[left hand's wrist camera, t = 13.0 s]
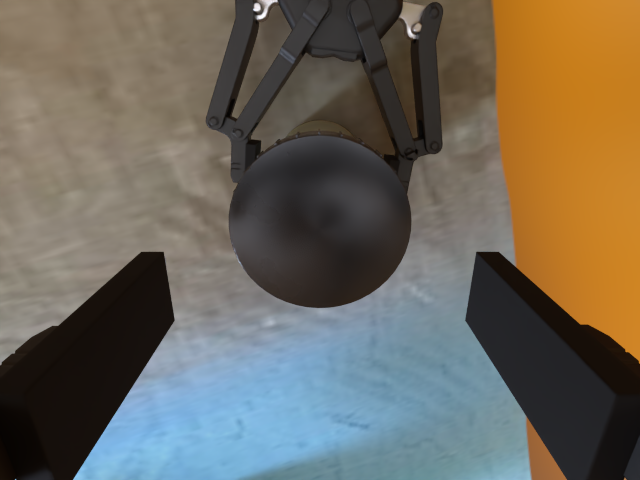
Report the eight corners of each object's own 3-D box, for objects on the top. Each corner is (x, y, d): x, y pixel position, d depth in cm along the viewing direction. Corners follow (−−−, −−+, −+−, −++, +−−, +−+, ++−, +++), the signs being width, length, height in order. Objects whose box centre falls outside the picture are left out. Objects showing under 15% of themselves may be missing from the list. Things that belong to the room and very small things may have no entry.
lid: (317, 316, 24) (317, 339, 21) (202, 212, 21) (188, 226, 19) (437, 217, 21) (450, 231, 19) (322, 88, 19) (322, 88, 17)
